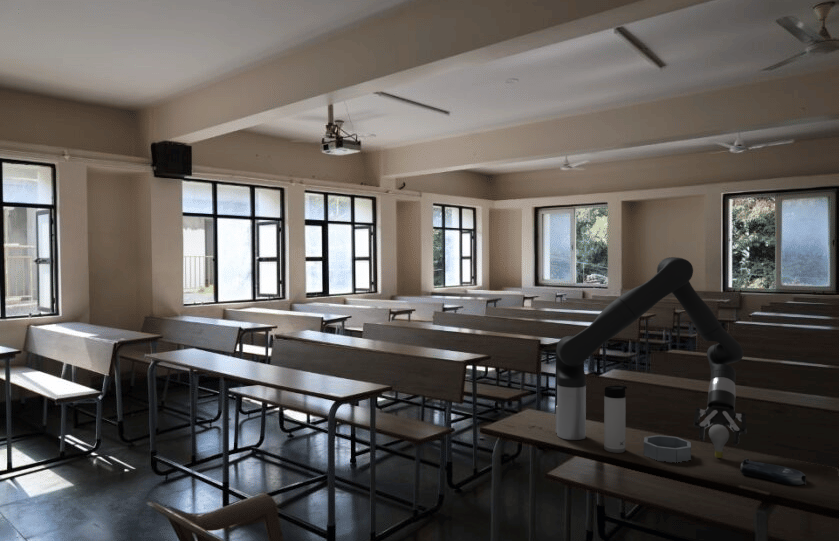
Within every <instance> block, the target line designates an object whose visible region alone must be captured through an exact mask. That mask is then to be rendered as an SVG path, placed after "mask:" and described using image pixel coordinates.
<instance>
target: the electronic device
mask: <svg viewBox="0 0 840 541" xmlns="http://www.w3.org/2000/svg"><path fill="white" fill-rule="evenodd" d="M739 472H741V475H743V476H745V475H746V476H750V477H754V478H757V479H758V478H759V479H764V480H771V482H775V483H778V484H779V483H780V484H784V485H789V486H790V485H791V486H800V485H804V484H805V485H807V476H806V474H804V473H803V472H802V471H800V470H798V469H796V468H791V467H787V466H782V465H778V464H777V465H776V464H772V463H766V462H765V463H764V462H760V461H752V460H750V459H749V458H748V457H746V458H744V459H743V460H742V461H741V463H740V470H739Z"/></svg>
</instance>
